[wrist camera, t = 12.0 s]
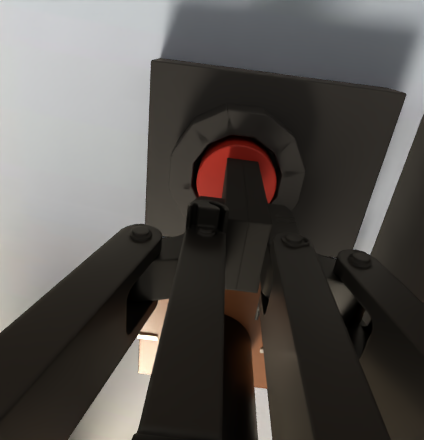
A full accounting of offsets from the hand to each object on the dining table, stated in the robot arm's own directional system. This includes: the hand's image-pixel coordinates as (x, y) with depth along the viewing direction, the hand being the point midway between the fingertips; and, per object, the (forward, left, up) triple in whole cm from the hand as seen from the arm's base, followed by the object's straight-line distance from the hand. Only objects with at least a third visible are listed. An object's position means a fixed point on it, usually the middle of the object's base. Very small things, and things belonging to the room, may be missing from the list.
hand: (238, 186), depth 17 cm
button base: (+1, +1, -5) cm, 6 cm away
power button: (0, 0, -2) cm, 2 cm away
